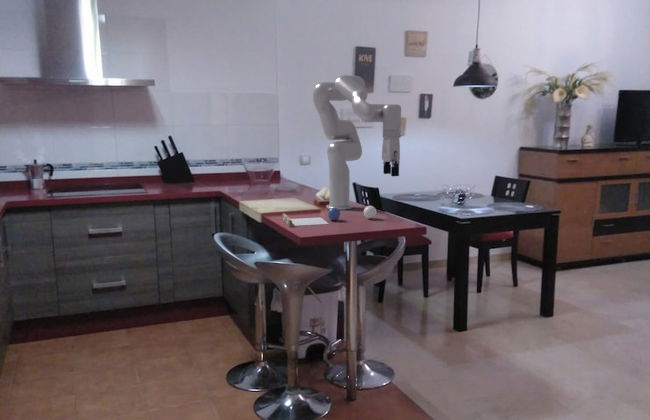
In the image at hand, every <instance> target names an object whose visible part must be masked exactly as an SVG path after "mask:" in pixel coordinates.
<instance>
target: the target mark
mask: <svg viewBox="0 0 650 420" xmlns="http://www.w3.org/2000/svg"><path fill="white" fill-rule="evenodd" d="M290 219H291V220H292V225H293V226H294V227H301V226H302V227H303V226H321V225H330V222H329V223H328V221H327V220H325V219H324V218H322V217H304V218H290Z"/></svg>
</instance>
